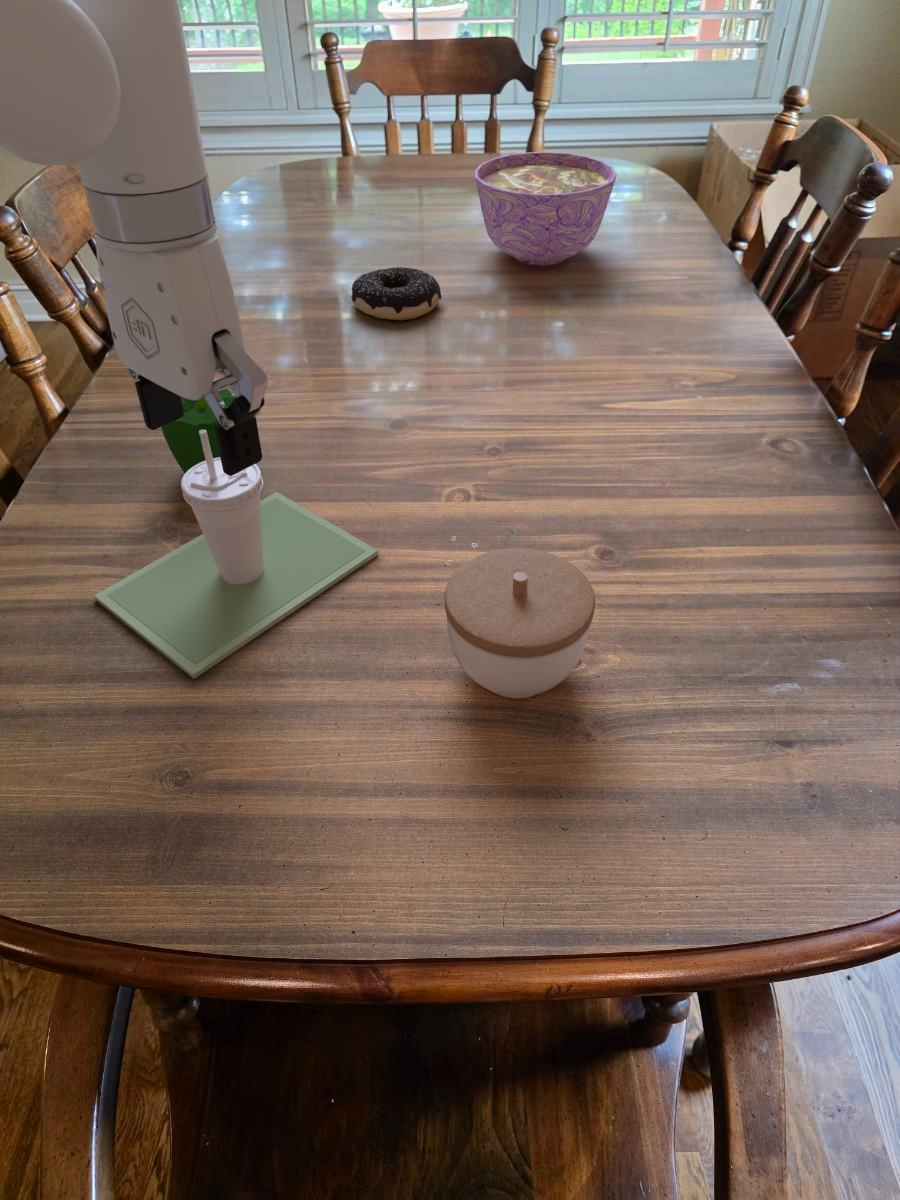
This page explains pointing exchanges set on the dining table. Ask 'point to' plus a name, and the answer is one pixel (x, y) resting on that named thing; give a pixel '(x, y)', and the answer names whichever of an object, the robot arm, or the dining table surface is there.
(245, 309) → the dining table surface
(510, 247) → the bowl of food
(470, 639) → the trinket box
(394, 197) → the dining table surface
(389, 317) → the donut
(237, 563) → the smoothie
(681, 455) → the dining table surface
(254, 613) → the placemat
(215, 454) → the bell pepper
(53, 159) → the robot arm
